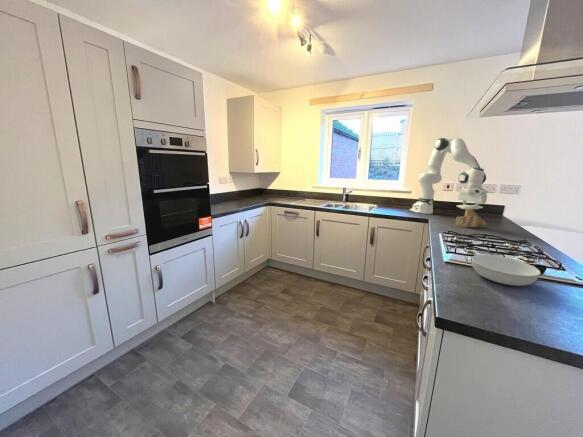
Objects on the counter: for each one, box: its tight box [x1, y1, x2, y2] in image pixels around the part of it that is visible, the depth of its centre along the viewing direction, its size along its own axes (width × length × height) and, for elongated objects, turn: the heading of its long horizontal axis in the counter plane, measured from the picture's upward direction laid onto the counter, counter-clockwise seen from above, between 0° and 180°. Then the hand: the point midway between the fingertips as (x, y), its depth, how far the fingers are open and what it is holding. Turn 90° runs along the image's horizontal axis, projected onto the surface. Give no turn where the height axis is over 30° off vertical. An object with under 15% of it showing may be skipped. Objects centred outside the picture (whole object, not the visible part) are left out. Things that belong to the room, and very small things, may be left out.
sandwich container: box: [464, 203, 488, 227], centre depth 193 cm, size 9×15×15 cm, turn 59°
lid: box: [456, 204, 484, 210], centre depth 182 cm, size 17×7×2 cm, turn 103°
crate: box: [454, 215, 481, 228], centre depth 185 cm, size 16×5×7 cm, turn 103°
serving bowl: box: [471, 254, 542, 287], centre depth 97 cm, size 21×21×7 cm
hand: (469, 207), depth 182 cm, fingers closed on lid, 7 cm apart
